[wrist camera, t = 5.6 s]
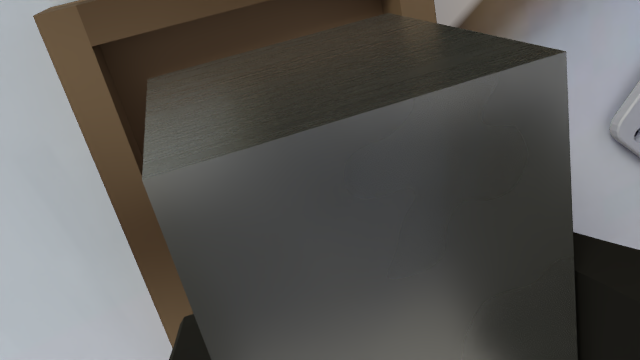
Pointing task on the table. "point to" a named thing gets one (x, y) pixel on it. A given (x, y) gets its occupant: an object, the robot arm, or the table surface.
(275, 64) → the grey speckled stone block
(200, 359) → the robot arm
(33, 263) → the table surface
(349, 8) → the shallow wooden tray
